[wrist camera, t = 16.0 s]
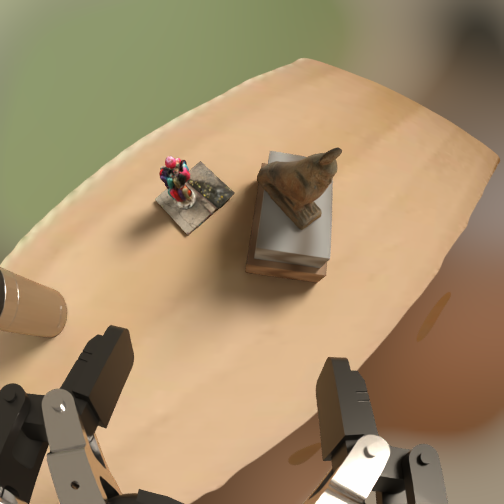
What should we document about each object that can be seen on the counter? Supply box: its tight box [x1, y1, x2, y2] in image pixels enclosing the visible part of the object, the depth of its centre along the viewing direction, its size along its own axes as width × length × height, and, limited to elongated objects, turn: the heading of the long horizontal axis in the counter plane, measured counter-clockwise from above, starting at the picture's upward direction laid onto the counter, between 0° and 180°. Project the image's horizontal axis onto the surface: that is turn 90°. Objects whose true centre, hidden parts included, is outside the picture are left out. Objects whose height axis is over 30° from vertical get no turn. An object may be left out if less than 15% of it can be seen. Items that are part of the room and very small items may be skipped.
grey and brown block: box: [246, 151, 333, 282], centre depth 45 cm, size 12×18×10 cm, turn 172°
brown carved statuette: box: [257, 148, 342, 230], centre depth 34 cm, size 11×5×16 cm, turn 32°
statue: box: [155, 156, 234, 234], centre depth 44 cm, size 11×9×15 cm
